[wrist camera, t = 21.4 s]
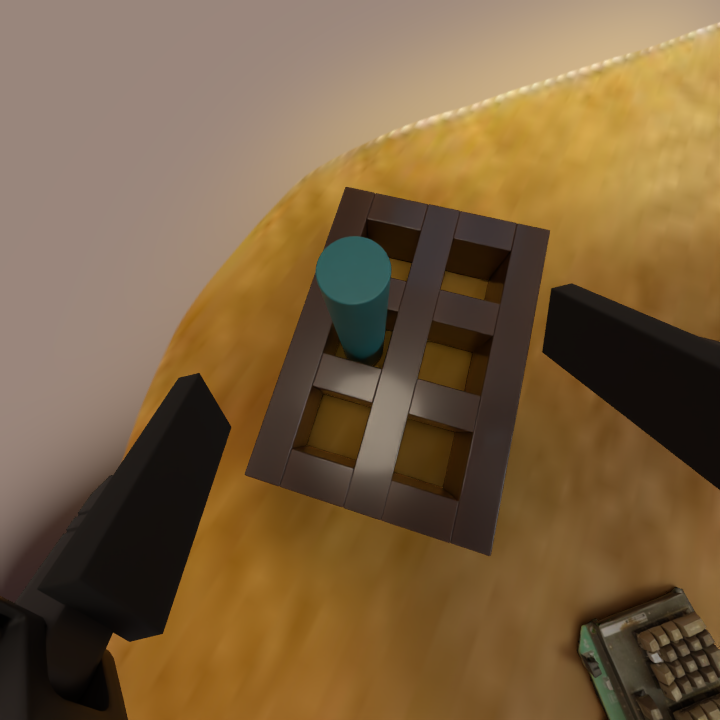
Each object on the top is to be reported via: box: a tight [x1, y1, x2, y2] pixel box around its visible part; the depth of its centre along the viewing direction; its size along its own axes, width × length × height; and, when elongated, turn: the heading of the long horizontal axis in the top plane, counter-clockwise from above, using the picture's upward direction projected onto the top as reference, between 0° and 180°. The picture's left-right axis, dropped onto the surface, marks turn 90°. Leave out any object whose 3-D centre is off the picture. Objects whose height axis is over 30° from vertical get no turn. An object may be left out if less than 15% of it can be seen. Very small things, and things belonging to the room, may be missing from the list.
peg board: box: [245, 187, 550, 556], centre depth 23 cm, size 16×22×4 cm
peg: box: [316, 236, 391, 366], centre depth 19 cm, size 3×3×13 cm
